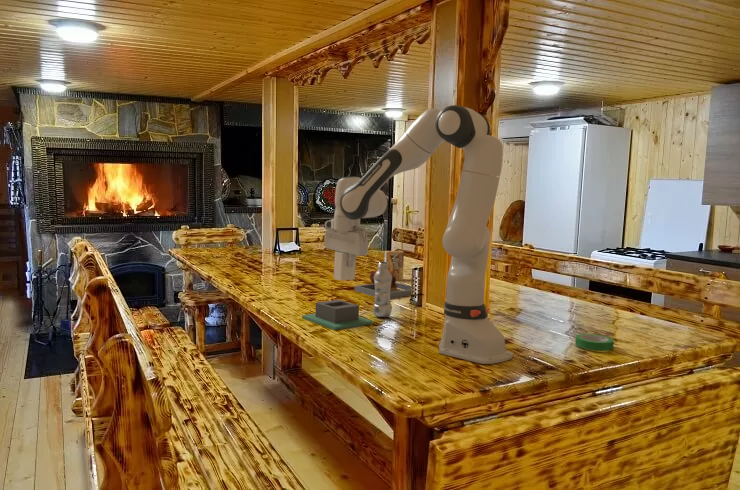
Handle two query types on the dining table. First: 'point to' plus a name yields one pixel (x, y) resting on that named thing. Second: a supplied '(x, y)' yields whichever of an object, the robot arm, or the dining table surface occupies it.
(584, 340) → the tape roll
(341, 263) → the plug
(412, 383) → the dining table surface
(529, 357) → the dining table surface
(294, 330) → the dining table surface
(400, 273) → the candy box
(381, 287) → the plastic bottle
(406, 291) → the burger tray
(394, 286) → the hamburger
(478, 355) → the robot arm
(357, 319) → the header board
